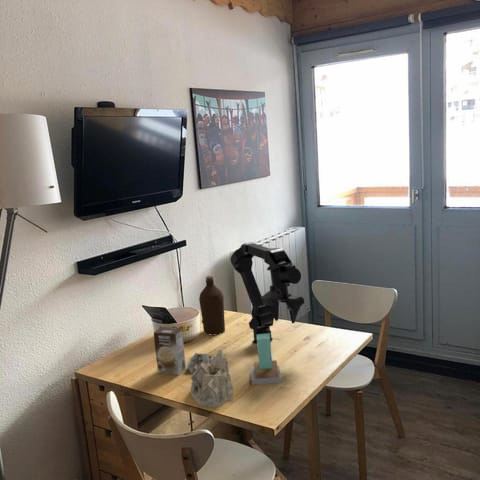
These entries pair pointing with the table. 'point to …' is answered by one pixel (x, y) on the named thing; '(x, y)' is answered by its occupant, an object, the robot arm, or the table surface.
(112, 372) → the table surface
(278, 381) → the slate slab
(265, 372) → the walnut slab
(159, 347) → the coffee box
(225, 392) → the grey jagged round piece
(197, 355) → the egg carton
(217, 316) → the olive oil
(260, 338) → the teal block
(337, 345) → the table surface
